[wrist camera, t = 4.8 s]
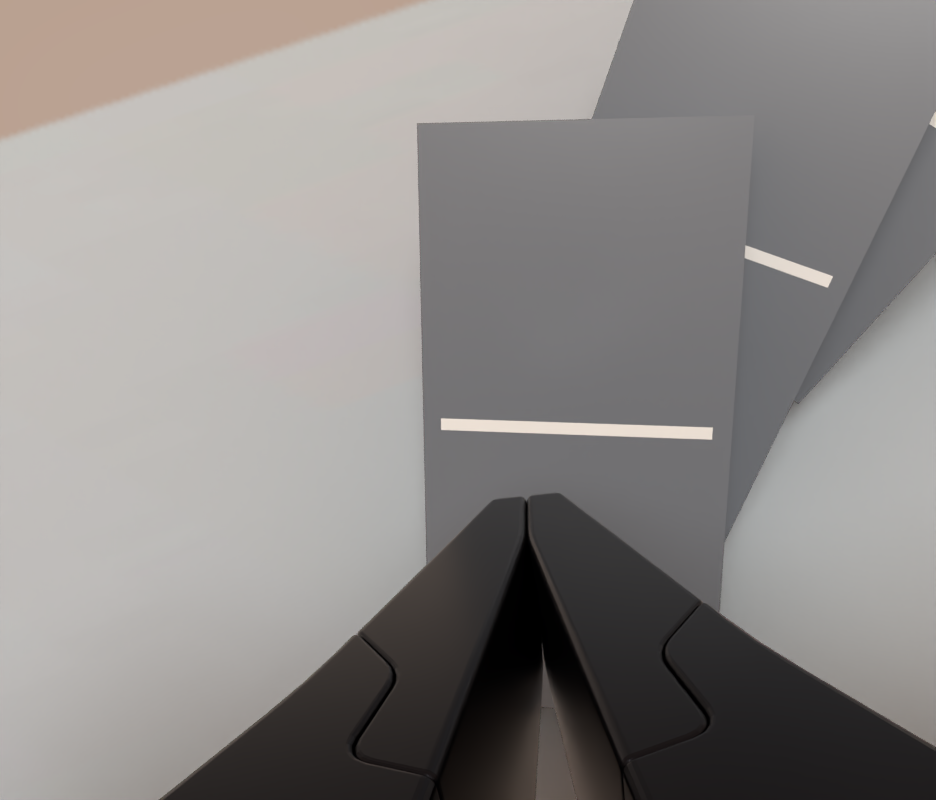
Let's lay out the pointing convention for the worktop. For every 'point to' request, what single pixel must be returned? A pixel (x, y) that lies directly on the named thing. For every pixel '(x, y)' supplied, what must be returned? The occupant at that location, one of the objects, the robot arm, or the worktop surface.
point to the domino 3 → (886, 259)
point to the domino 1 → (585, 325)
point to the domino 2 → (788, 159)
